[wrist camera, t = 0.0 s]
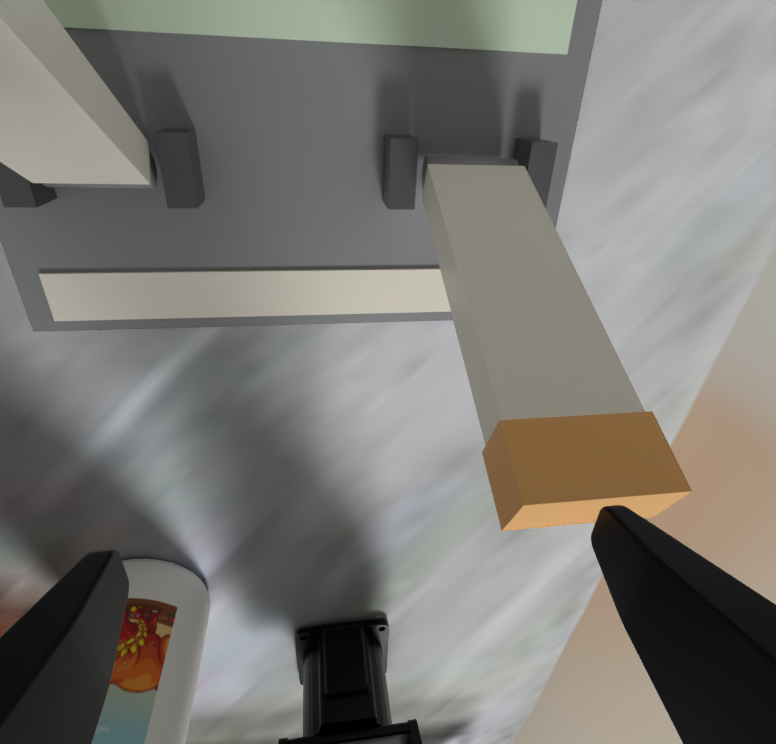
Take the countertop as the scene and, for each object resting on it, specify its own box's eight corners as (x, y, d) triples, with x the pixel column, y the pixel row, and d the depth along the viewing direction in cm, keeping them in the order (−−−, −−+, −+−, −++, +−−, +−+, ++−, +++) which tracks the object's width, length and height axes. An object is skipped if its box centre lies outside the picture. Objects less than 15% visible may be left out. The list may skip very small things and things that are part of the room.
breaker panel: (530, 311, 24) (551, 332, 22) (42, 323, 21) (13, 349, 19) (596, -27, 17) (635, -42, 15) (-100, -82, 14) (-168, -111, 12)
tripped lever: (507, 185, 20) (653, 517, 12) (414, 183, 19) (501, 531, 11) (519, 146, 18) (692, 491, 10) (420, 144, 18) (523, 505, 10)
